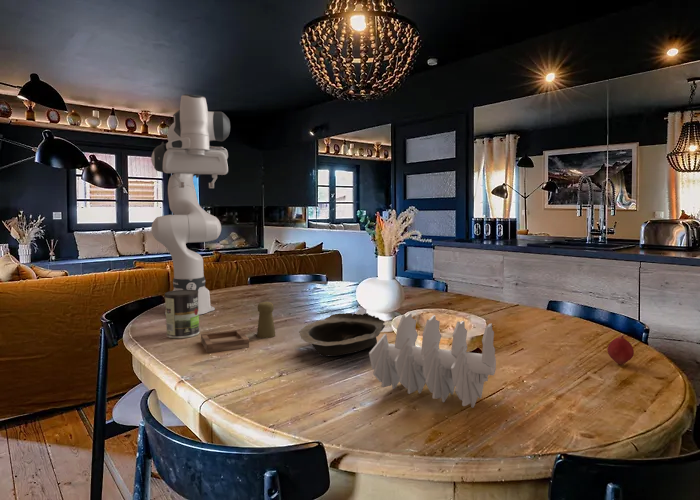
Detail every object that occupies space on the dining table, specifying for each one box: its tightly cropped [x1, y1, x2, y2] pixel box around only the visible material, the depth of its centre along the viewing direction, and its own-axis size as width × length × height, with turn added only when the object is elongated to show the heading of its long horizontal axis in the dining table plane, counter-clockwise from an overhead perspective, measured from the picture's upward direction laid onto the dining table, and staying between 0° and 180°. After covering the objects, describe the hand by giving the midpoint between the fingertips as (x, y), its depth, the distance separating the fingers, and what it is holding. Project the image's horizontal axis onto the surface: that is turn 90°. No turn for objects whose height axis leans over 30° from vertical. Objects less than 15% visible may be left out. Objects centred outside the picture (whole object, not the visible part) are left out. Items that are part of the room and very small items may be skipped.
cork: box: [256, 301, 277, 339], centre depth 145 cm, size 6×6×11 cm
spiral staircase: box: [368, 312, 497, 408], centre depth 97 cm, size 18×18×25 cm
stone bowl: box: [298, 312, 386, 358], centre depth 129 cm, size 25×25×9 cm
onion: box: [607, 334, 635, 366], centre depth 116 cm, size 6×6×8 cm
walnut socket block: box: [200, 329, 250, 354], centre depth 135 cm, size 12×12×2 cm
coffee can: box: [164, 290, 200, 339], centre depth 147 cm, size 10×10×14 cm
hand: (196, 188), depth 147 cm, fingers open, 8 cm apart
